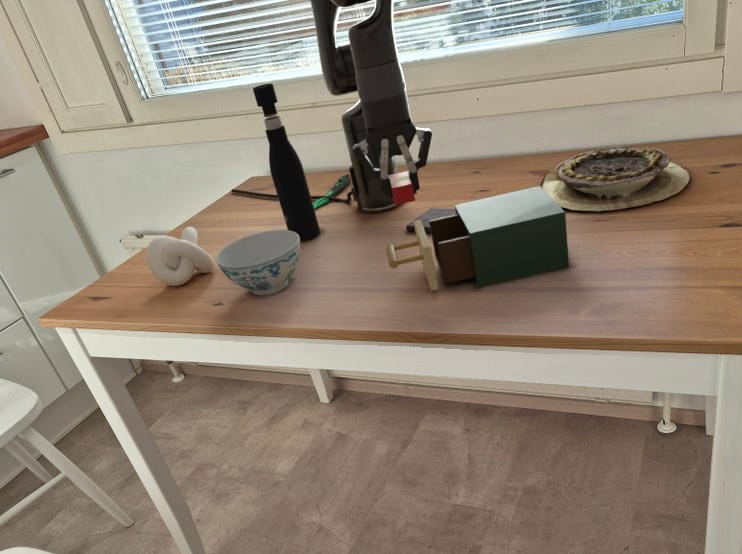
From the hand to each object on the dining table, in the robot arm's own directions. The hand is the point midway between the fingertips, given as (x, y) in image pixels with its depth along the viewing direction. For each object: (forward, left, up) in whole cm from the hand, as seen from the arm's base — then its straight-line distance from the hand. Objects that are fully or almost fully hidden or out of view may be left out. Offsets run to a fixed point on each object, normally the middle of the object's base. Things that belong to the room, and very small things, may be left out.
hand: (402, 195), depth 117 cm
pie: (+32, +27, -11) cm, 43 cm away
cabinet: (+19, -5, -11) cm, 23 cm away
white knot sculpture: (-46, -6, -11) cm, 48 cm away
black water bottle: (-28, +11, -11) cm, 32 cm away
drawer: (+10, -10, -10) cm, 17 cm away
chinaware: (-24, -12, -11) cm, 29 cm away
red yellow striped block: (0, 0, 0) cm, 0 cm away
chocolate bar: (+5, +12, -11) cm, 17 cm away
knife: (-33, +36, -11) cm, 50 cm away
